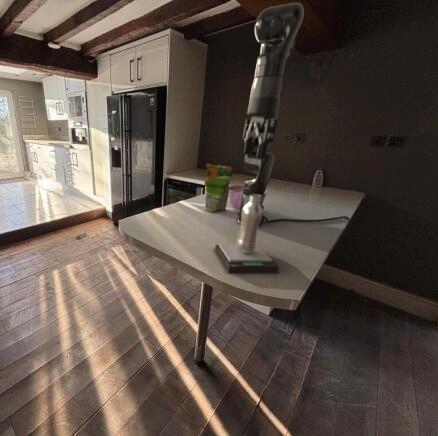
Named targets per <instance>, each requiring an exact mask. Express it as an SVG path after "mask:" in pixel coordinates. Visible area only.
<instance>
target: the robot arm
mask: <svg viewBox="0 0 438 436" xmlns="http://www.w3.org/2000/svg"><path fill="white" fill-rule="evenodd" d="M304 16H305V10H304V6H303V5H302V3H300V2H290V3H288V4H287V3H286V4H279V5H274V6H269V7H267V8H265V9H263V10H262V11H260V13H259V15H258V16H257V18H256V21H255V25H254V35H255V36H254V37H255V39H256V41H257V42H258V43H259V44H261V45H260V52H259V56H258V57H257V60H256V66H255V72H254V78H253V82H252V85H251V90H250V95H249V103H248V106H247V115H248V116H251V118H250V119H245V122H244V128H243V134H242V140H244V149H243V155H245V156H244V162H243V166H244V170H245V171H246V172H248V173H253V174H257V175H256V177H255V178H254V179H247V180H245V181H244V184H243V185H244V189H243V195H242V200H241V205H240V211H238V213H237V214H238V215H237V220H236V221H237V223H238V224H239V225H241V216H242V209H243V207H244V206H245V205H246V204H247V203H248V202H249V201H248V199H249V195H250V194H258V195H261V196H262V198H261V202H260V205H261V207H262V209H263V210H264V209H265V206H264V205H263V203H264V201H265V199H264V196H265V191H267V187H268V184H269V182H270V179H271V176H272V175H271V174H272V173H273V172H272V171H273V168H274V164H275V154H273V153H272V152H270V151H267V149H268V146H269V145H270V144H272V143H274V141H275V136H276V131H277V125H278V115H279V110H280V104H281V92H282V87H283V77H284V72H285V67H286V64H287V59H288V58H290V57H291V56H292V54H293V53H294V51H295V48H296V44H297V38H298V32H299V30H300V28H301V25H302V23H303V21H304ZM263 200H264V201H263ZM340 219H346V220H350V218H349V217H348V216H346V215H342V216H337V217H336V216H335V217H329V218H322V219H293V218H275V219H272V220H269V219H268V217H266V216H265V215H264V214H263V215H262V218H261V220H260V223H259V226H261V223H275V222H280V221H281V222H283V221H284V222H302V223H303V222H304V223H305V222H306V223H307V222H308V223H309V222H310V223H312V222H315V223H316V222H328V221H333V220H334V221H335V220H340Z"/></svg>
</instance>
